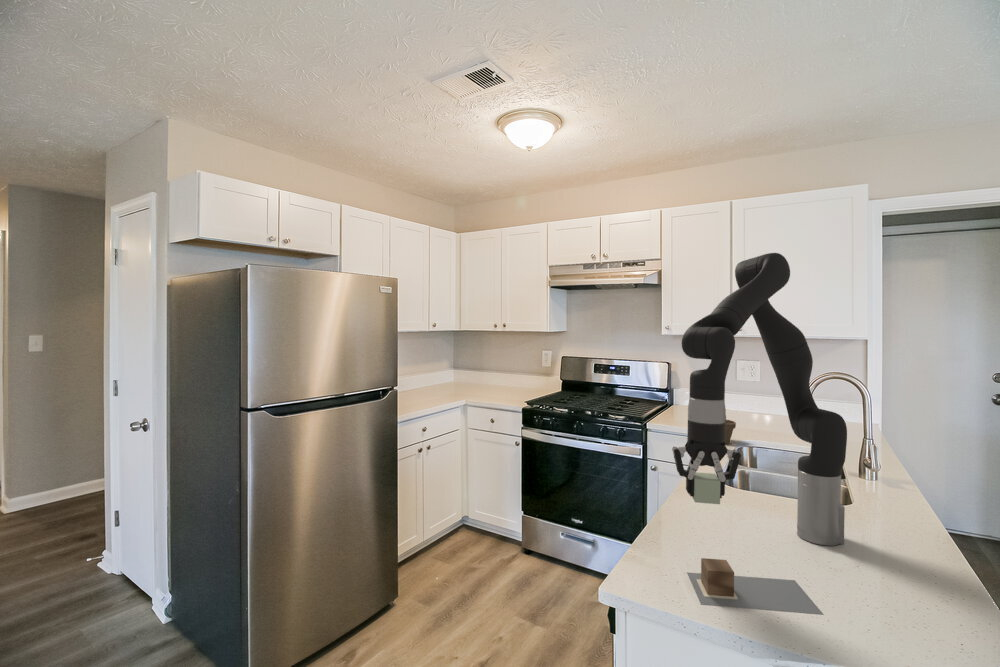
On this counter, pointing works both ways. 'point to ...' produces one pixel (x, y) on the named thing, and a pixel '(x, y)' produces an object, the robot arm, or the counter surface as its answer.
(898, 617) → the counter surface
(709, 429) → the robot arm
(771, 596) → the build mat
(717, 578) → the walnut block
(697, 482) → the sage block
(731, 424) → the flower pot
